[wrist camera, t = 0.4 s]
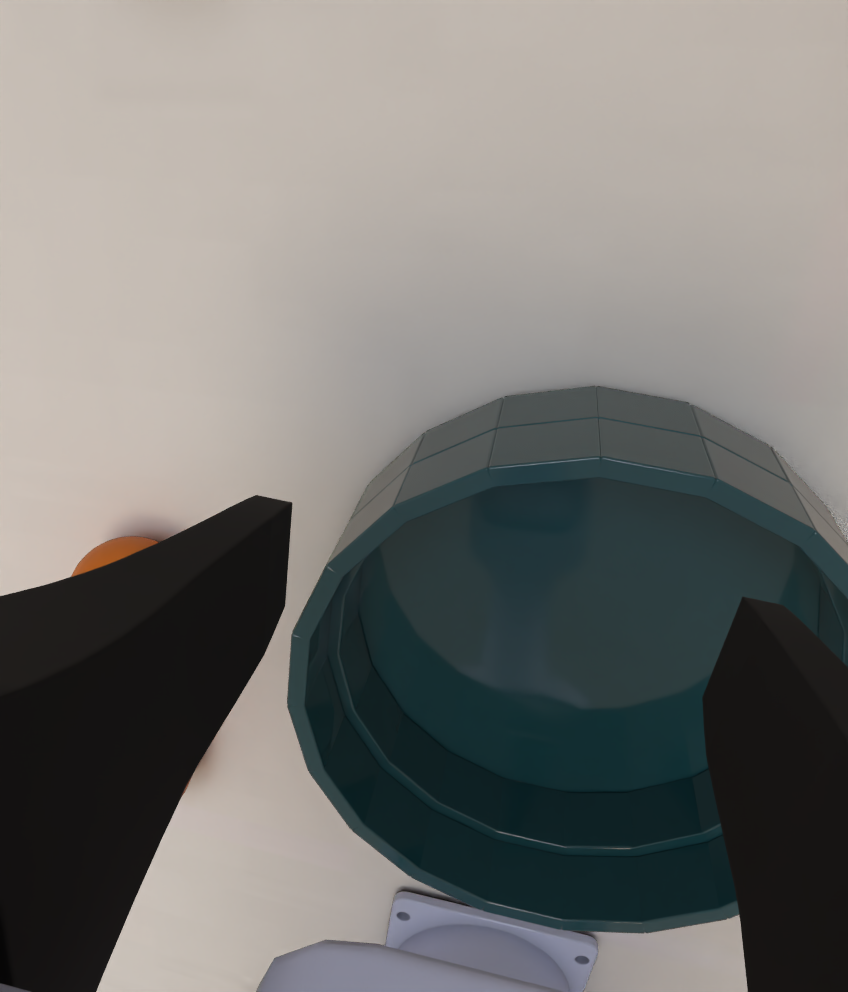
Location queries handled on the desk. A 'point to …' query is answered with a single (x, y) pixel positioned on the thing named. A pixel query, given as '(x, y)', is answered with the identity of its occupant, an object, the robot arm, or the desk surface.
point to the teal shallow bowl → (553, 651)
